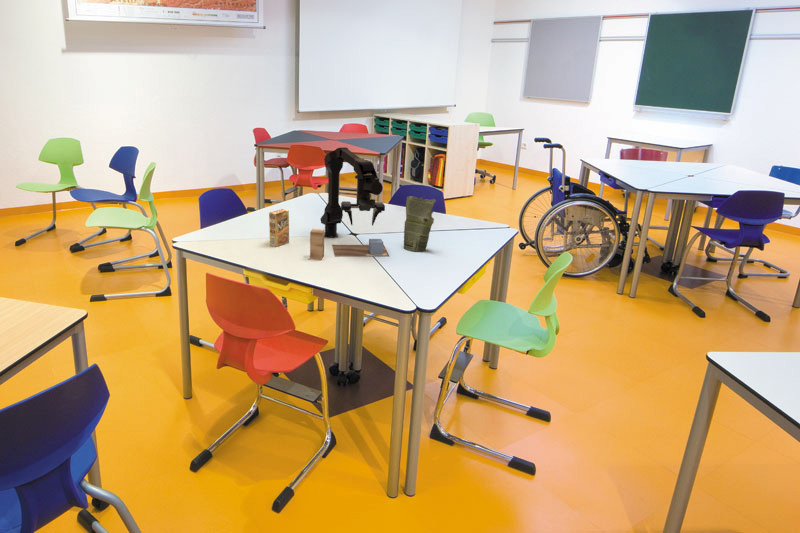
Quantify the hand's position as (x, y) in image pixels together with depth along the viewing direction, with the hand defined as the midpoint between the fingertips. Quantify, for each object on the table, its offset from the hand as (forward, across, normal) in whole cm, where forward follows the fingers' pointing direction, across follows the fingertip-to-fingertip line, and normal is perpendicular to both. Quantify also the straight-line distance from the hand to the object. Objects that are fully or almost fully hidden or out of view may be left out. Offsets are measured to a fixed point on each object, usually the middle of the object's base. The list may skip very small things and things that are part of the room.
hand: (362, 225), depth 248 cm
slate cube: (+11, +6, -4) cm, 13 cm away
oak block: (+12, -20, -9) cm, 25 cm away
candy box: (+12, -36, +10) cm, 39 cm away
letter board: (+12, 0, -1) cm, 12 cm away
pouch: (+12, +26, +2) cm, 29 cm away
